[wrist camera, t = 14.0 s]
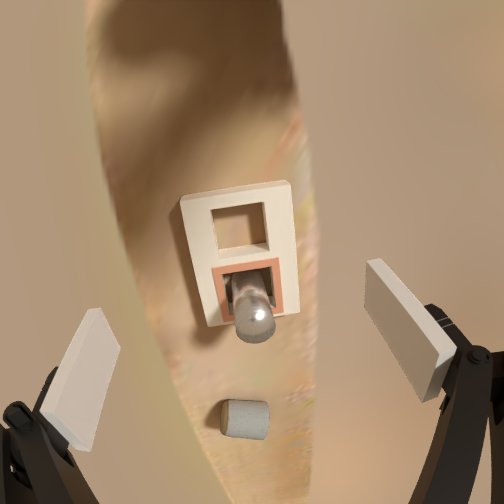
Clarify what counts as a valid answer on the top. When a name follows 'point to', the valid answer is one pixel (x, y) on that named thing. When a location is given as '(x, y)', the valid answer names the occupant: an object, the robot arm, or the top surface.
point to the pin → (251, 307)
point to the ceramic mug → (245, 419)
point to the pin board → (243, 247)
